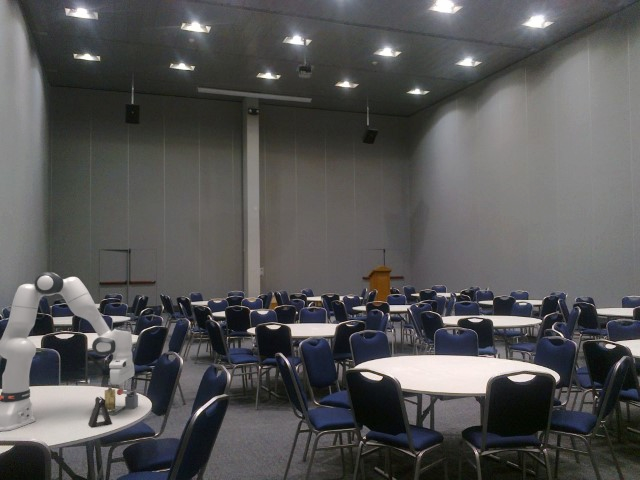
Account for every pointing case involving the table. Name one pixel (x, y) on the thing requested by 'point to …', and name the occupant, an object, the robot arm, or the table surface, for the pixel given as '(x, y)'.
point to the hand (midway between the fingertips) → (123, 389)
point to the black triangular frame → (95, 414)
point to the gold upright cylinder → (110, 398)
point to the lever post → (131, 400)
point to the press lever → (124, 392)
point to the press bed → (114, 411)
